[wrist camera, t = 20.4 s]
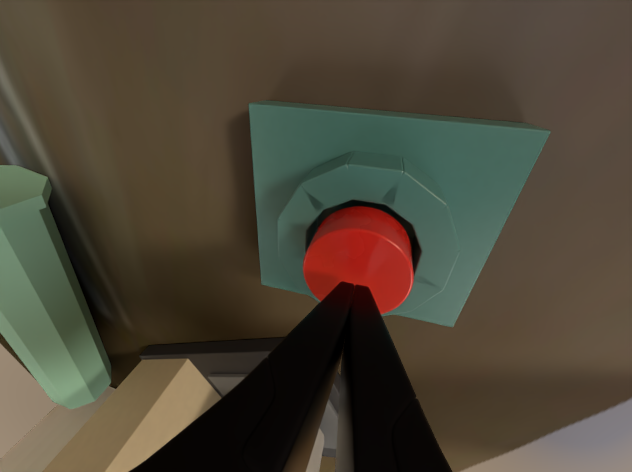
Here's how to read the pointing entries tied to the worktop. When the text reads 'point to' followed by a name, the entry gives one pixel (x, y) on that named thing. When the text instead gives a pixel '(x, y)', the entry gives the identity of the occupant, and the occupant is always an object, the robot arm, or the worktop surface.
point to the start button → (361, 256)
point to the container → (45, 296)
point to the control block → (389, 189)
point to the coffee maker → (170, 403)
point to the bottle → (49, 437)
